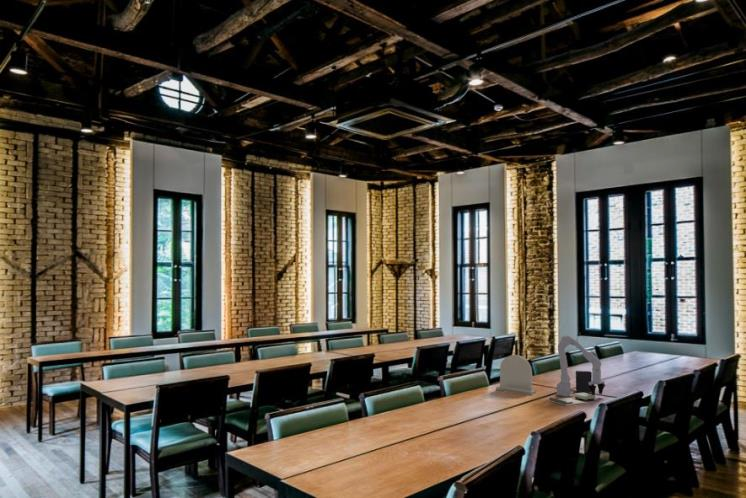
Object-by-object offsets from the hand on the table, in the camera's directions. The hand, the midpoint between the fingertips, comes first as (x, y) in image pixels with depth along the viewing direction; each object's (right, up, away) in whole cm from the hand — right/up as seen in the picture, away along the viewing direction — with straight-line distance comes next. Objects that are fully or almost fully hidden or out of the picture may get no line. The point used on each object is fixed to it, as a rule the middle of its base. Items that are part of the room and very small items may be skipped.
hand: (596, 394), depth 374 cm
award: (-54, -3, +17) cm, 57 cm away
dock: (-27, -1, -14) cm, 30 cm away
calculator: (0, -4, +22) cm, 22 cm away
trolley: (-11, -2, -6) cm, 13 cm away
